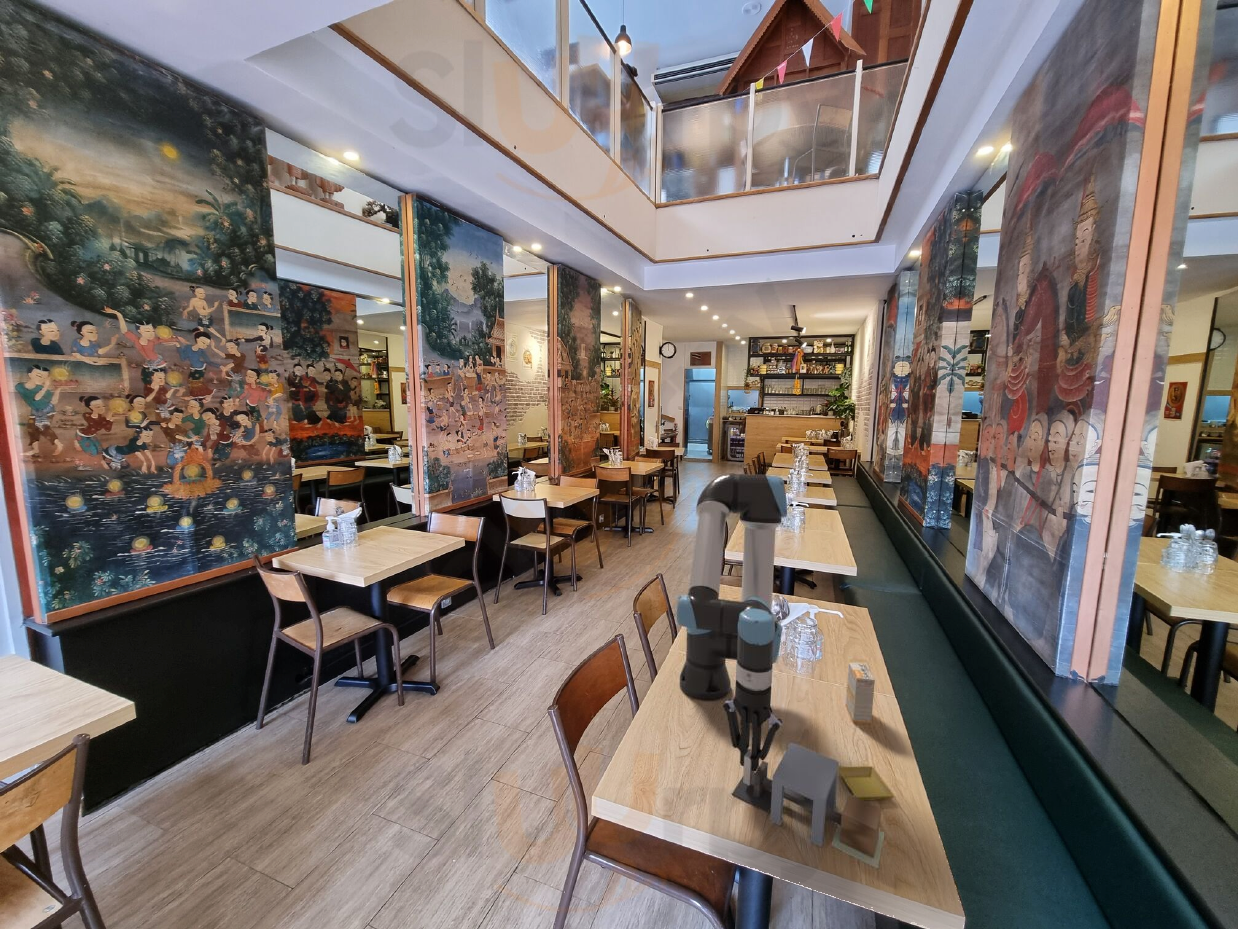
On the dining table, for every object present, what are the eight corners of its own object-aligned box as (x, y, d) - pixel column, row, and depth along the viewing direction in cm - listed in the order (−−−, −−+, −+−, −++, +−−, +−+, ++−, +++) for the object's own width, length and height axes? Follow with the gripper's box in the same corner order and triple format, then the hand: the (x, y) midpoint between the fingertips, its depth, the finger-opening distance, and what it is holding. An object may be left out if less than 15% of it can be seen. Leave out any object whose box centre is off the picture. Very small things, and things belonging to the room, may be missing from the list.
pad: (831, 845, 94) (831, 844, 94) (841, 814, 102) (841, 813, 102) (877, 869, 90) (877, 867, 90) (884, 834, 97) (884, 833, 97)
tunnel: (770, 820, 100) (772, 775, 99) (788, 783, 110) (791, 742, 108) (821, 847, 94) (824, 800, 93) (835, 805, 104) (839, 762, 102)
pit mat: (732, 794, 106) (732, 793, 106) (747, 769, 114) (747, 768, 114) (768, 813, 102) (768, 812, 102) (781, 785, 109) (781, 784, 109)
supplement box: (872, 726, 129) (876, 680, 128) (852, 723, 130) (856, 678, 129) (863, 707, 137) (866, 663, 136) (844, 704, 138) (848, 661, 137)
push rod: (752, 797, 105) (753, 772, 104) (762, 780, 110) (763, 756, 109) (873, 858, 91) (876, 830, 91) (878, 835, 96) (881, 808, 95)
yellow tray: (894, 804, 105) (895, 796, 104) (855, 805, 104) (855, 796, 104) (871, 774, 113) (872, 766, 113) (835, 774, 113) (836, 766, 113)
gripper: (718, 679, 106) (714, 777, 109) (777, 701, 99) (771, 806, 102) (732, 664, 112) (728, 757, 115) (789, 684, 105) (783, 783, 108)
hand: (748, 780), depth 109 cm, fingers closed
